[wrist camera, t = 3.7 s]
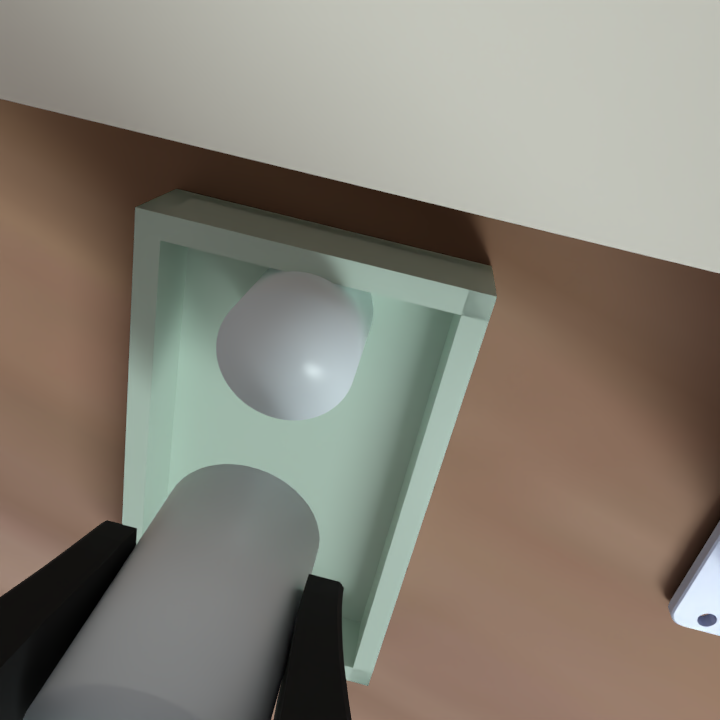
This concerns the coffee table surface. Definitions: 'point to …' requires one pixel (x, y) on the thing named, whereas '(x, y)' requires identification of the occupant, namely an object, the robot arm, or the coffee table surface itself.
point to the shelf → (416, 99)
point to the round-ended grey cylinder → (195, 608)
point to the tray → (316, 452)
